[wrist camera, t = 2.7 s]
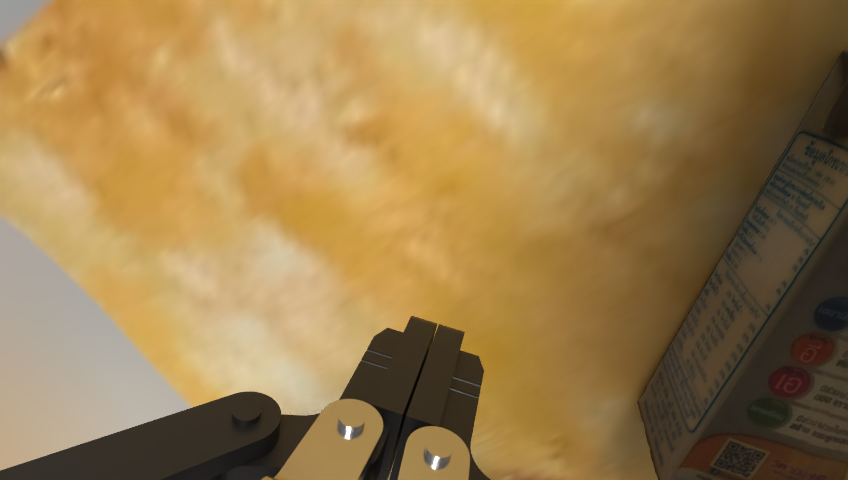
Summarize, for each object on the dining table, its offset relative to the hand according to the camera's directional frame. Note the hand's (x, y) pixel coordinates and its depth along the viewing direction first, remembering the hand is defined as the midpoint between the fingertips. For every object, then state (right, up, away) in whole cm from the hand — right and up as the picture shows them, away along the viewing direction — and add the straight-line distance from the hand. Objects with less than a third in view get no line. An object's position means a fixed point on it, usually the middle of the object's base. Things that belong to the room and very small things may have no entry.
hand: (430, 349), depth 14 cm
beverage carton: (+17, +1, +10) cm, 20 cm away
